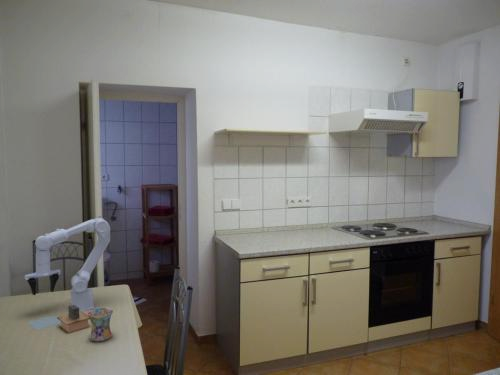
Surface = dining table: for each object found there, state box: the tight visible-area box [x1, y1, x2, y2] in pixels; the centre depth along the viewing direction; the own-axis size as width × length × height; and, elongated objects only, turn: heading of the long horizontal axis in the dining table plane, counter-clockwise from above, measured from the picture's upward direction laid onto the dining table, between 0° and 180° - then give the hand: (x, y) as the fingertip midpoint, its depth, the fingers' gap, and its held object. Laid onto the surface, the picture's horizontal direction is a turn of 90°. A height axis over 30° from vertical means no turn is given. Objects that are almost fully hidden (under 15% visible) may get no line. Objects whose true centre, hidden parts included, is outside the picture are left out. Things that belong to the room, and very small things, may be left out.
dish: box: [60, 319, 89, 334], centre depth 167 cm, size 8×8×4 cm
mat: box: [27, 315, 61, 331], centre depth 171 cm, size 11×11×1 cm
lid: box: [56, 304, 90, 326], centre depth 167 cm, size 10×10×5 cm
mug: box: [87, 307, 114, 342], centre depth 159 cm, size 12×9×11 cm
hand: (43, 292), depth 179 cm, fingers open, 7 cm apart
